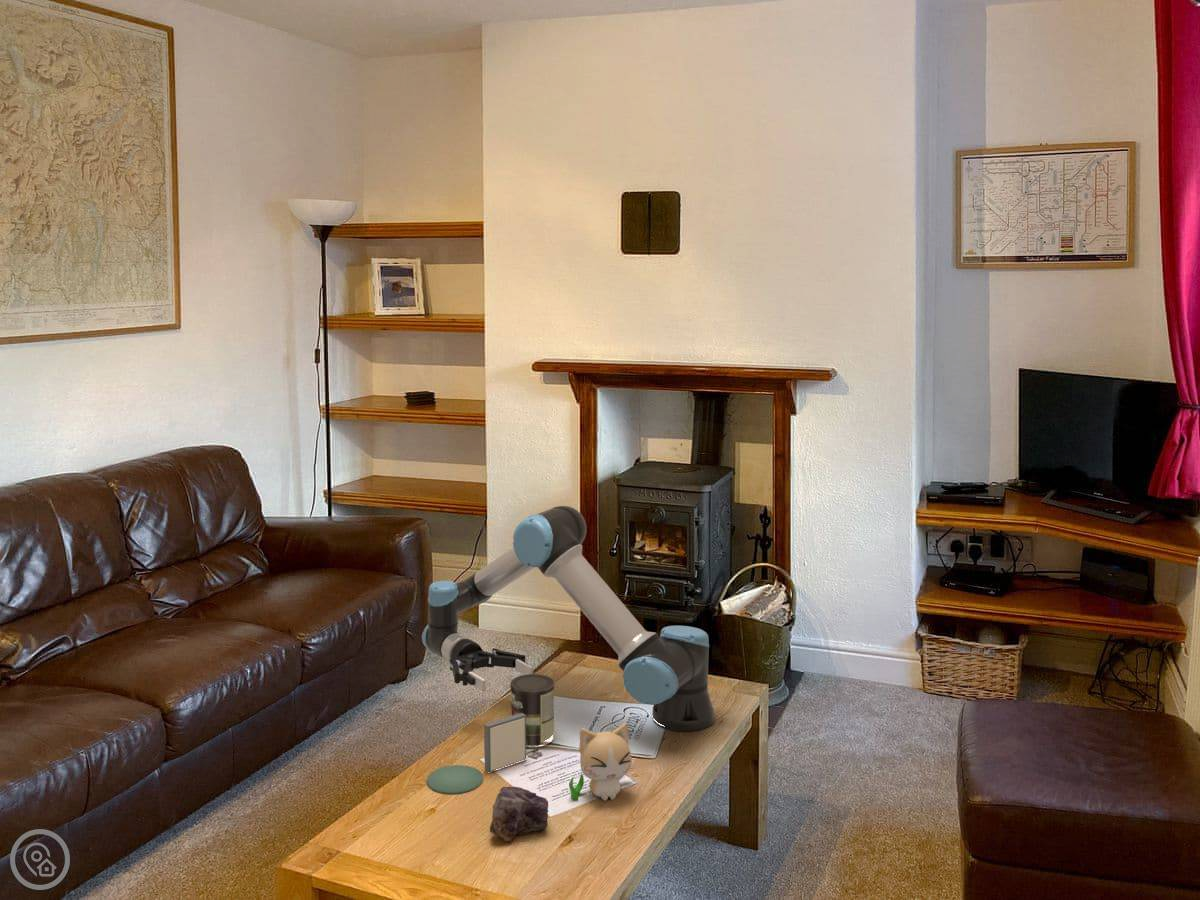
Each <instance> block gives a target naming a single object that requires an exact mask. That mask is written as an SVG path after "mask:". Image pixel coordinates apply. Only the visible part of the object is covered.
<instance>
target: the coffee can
mask: <svg viewBox="0 0 1200 900" xmlns="http://www.w3.org/2000/svg"><path fill="white" fill-rule="evenodd" d="M509 685H510V716H513V715H516V714H519V713H523V714H525V715H526V747H529V746H530V747H535V746H539V745H541V744H543V741H545V740H547V739H549V738H550V737H551V736H552V735H553V733H555V732H554V730H555V728H554V727H555V726H554V724H555V723H554V722H555V721H554V720H555V711H554V710H555V708H554V707H555V680H554V679H553V678H552V677H550V676H547V675H544V674H536V673H535V674H534V673H533V674H528V675H524V674H521V675H519V676H515V678H513V679H512V680H511V681H510V683H509Z"/></svg>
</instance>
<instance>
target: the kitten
mask: <svg viewBox="0 0 1200 900" xmlns="http://www.w3.org/2000/svg"><path fill="white" fill-rule="evenodd" d="M629 744H630V743H629V727H628V724H627V723H626V722H624V723H622V724H621V725H620V726H618V727H617V728H615V729H614V730H613V731H601V732H597V733H594V732H592V731H590V730H589V729H588V730H587V729H586V728H583V727H582V728H580V730H579V753H580V757H579V759H580V760H579V762H580V770H581V772H582V773H580V776H579V780H578V782H577V784H576V785H575V787H574V777H572V778H571V779H570V781H569V783H568V786H569V789H570V797H571V799H573V801H579V796H581V791H582V789H583V787H584V784H585V783H584V779H585V778H584V776H585V777H586V778H588V779H589V780H590V781H589V786H588V787H589V789H590V791H591V792H592V794H593V795H594V796H596V797H600V798H601V799H602V801H604V802H606V801H608V798H610V800H612V801H613V800H615V799H616V798H617V795H618V794H619V793H620V792H621V789H622V788H621V787H622V786H621V779H623V778H624V776H626V775H627V774H628V773H629V772H630V770H631V768H632V766H633V765H632V762H633V761H632V760H633V759H632V753H631V749H630V747H629Z"/></svg>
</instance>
